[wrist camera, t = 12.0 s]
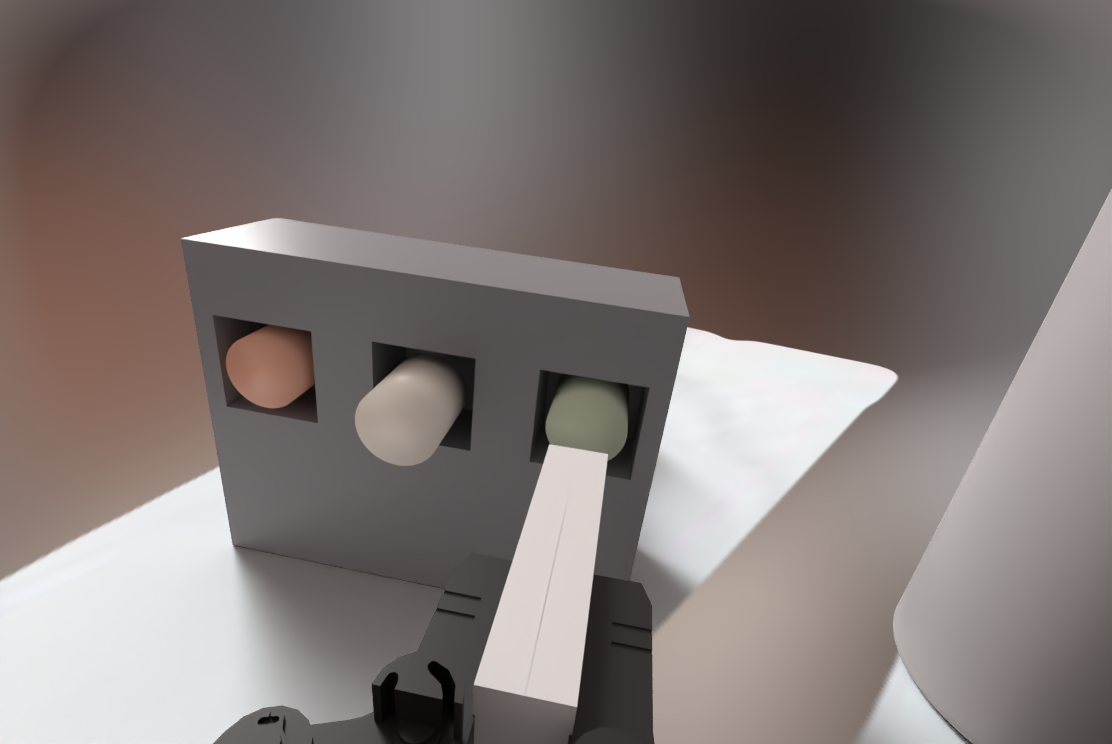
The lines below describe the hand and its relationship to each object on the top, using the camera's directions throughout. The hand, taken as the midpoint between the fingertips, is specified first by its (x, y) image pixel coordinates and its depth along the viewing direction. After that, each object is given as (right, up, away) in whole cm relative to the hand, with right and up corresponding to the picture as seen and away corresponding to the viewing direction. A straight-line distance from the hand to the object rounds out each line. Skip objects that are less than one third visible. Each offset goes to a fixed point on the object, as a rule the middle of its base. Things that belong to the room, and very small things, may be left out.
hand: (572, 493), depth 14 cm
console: (-8, -8, +20) cm, 23 cm away
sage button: (+1, -1, +14) cm, 14 cm away
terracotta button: (-15, +2, +15) cm, 21 cm away
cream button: (-7, 0, +12) cm, 14 cm away
